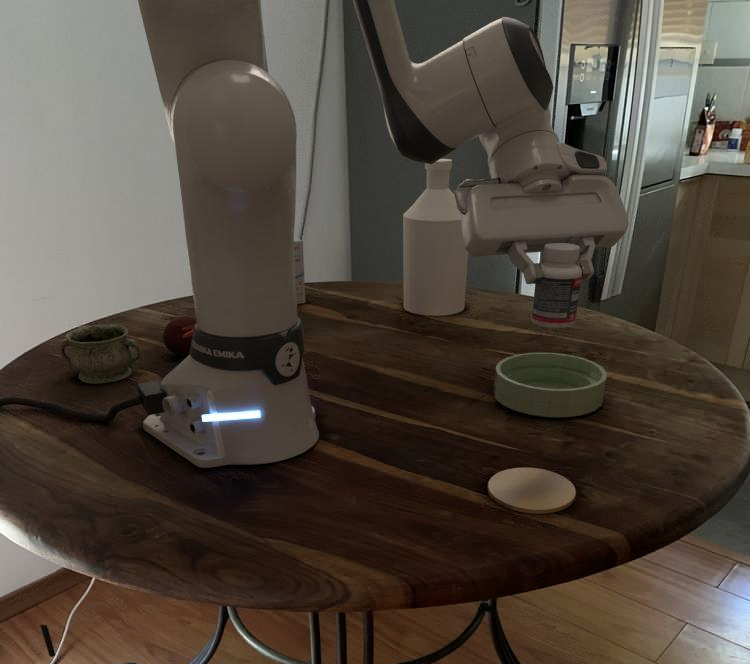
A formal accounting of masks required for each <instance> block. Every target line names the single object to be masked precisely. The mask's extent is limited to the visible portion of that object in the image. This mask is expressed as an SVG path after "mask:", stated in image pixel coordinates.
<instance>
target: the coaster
mask: <svg viewBox="0 0 750 664" xmlns="http://www.w3.org/2000/svg"><path fill="white" fill-rule="evenodd" d="M575 487H576V486H575V485H574V483H572V481H570V479H568V478H567V477H565V476H563V475H561V474H559V473H557V472H555V471H551V470H547V469H543V468H537V467H513V468H507V469H504V470H501V471H498V472H496V473H495V474H494V475H493V476H491V477H490V478H489V480H488V482H487V492H488V495H489V497H490V498H491V499H492V500H493V501H494V502H495V503H497V504H498V505H500V506H502V507H504V508H506V509H509V510H512V511H514V512H520V513H525V514H537V515H542V514H543V515H544V514H552V513H557V512H560V511H563V510H566V509H567V508H569V507H570V506H571V505H572V504H573V503H574V502H575V500H576V496H577V490H576V488H575Z"/></svg>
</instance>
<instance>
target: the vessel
mask: <svg viewBox="0 0 750 664" xmlns="http://www.w3.org/2000/svg"><path fill="white" fill-rule="evenodd" d="M128 335H129V330H128V328H127V327H125V326H123V325H119V324H108V323H107V324H93V325H86V326H81V327H79V328H76V329H73V330H71V331H69V332H67V333H66V334H65V338H64V339H62V340H61V341H60V344H59V353H60V356H61V357H62V359H63V360H64V361H65V362H66V363H67V365H68V368H69V369H71V370H73V371H75V370H78V371H79V373H78V379H79V380H80V381H81V382H83V383H85V384H94V385H99V384H108V383H114V382H118V381H120V380H124V379H126V378H128V377H130V375H131V374H132V371H134V372H137V371H139V370H140V362H141V361H142V359H143V350H142V348H141V346H140V345H139V343H138V342H137V341H136V339H133V338H128V337H127V336H128ZM66 347H70V351H69V356H67V354H66V352H65V349H66ZM132 348H134V349H135V350H136V351H137V357H135V358H134V354H133V351H132ZM129 365H130V366H131V367H129ZM131 368H132V369H131Z"/></svg>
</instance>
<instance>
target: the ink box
mask: <svg viewBox="0 0 750 664" xmlns="http://www.w3.org/2000/svg"><path fill="white" fill-rule="evenodd" d="M294 264H295V281H296V297H297V305H302V304H306V284H305V283H306V282H305V281H306V280H305V258H304V241H303V240H301V239H299V238H298V237H297V236H295V235H294Z"/></svg>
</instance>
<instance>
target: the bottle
mask: <svg viewBox="0 0 750 664" xmlns="http://www.w3.org/2000/svg"><path fill="white" fill-rule="evenodd" d="M452 168H453V159H450V158H441V159H439V160H438V161H436V162H435V163H433V164H426V163H424V169H425V170H426V188H425V189H424V191H423V192H422V193H421V194H420V195H419V197H418V198H417V199H416V200H415V201H414V202H413V204H412V205H411V206H410V207H408V209H407V210H406V211H405V212H404V213H403V214H402V241H403V242H402V247H403V248H402V250H403V251H402V252H403V253H402V259H403V260H402V261H403V263H402V265H403V266H402V267H403V269H402V270H403V272H402V274H403V309H404V310H405V311H407V312H409V313H412V314H415V315H421V316H429V317H432V316H435V317H436V316H437V317H439V316H440V317H441V316H449V315H454V314H458V313H460V312H463V311H464V310H465V307H466V306H465V305H466V290H467V278H468V277H467V273H468V261H469V252H468V251H467V250H466V248H465V245H464V240H463V234H462V226H461V212H460V211H459V210H458V208H457V206H456V202H455V199H454V192H452V190H451V188H450V177H451V174H450V173H451V170H452Z"/></svg>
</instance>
